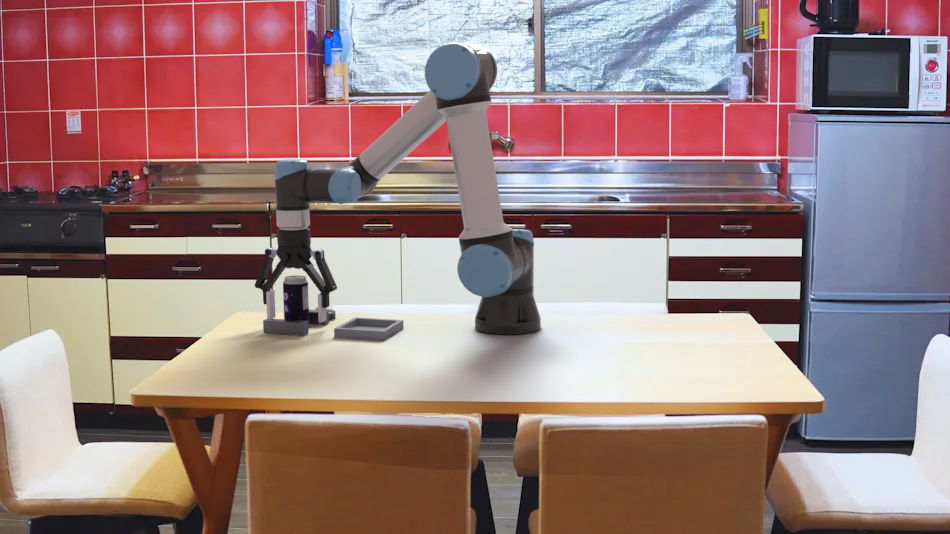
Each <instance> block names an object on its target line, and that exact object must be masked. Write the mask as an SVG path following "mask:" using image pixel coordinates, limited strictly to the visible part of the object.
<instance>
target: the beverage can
mask: <svg viewBox="0 0 950 534" xmlns="http://www.w3.org/2000/svg"><path fill="white" fill-rule="evenodd" d="M282 295H283V319H285V320H302V321H308V326H309V325H310V324H309V310H310V305H309V304H310V302H309V301H310V300H309V281H308V280H307V277H306V276H305V275H287V276H285V277H284V279H283V283H282Z"/></svg>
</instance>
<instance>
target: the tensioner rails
mask: <svg viewBox="0 0 950 534" xmlns="http://www.w3.org/2000/svg"><path fill="white" fill-rule="evenodd" d="M336 317H337V315H336V310H334V309H329V308H326V321H324V322H322V323H319V320H318V306H317V307H315V309H309V325H311V324H320V325H319V326H326V324H327V325H328V323H329V324H330V322H331V321H334V320H335V319H336ZM330 320H331V321H330ZM262 325H263V328H262V329H263V334H264V333H265V335H278V334H279V335H281V336H293V335H298V336H297V337H305V336H307V335H308V334H309V325H308V321H302V320H285V319H284V318H272V319H269V318H268V319H267V318H266V319H264V320H262ZM279 335H278V336H279Z"/></svg>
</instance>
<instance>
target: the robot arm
mask: <svg viewBox="0 0 950 534" xmlns="http://www.w3.org/2000/svg"><path fill="white" fill-rule="evenodd" d="M497 75H498V66H497V62H496V59H495V57H494V56H493V54H492V53H491V52H490V51H489V50H488V49H487V48H486V47H484V46H482V45H480V44H477V43H468V42H467V43H466V42H462V41H452V42H449V43H448V42H447V43H444V44H441V45H440V46H438V47H436V49H434V50H433V51H432V52H431V54H429V57H428V59H427V60H426V62H425V66H424V79H425V83H426V85H427V87H428V89H429V90H428V92H427V93H425V94H424V95H423V96H422V97H421V98H420V99H419V100H418V101H416V102H415V104H413V105H412V106H411V107H410V108H409V109H408V110H407V111H406V112H405V113H403V114H402V115H401V117H399V118H397V120H396V121H394V123H393V124H392V125H390V126H389V127H388V128H387V129H386V130H385V131H384V132H383V133H382V134H381V135H379V136H378V137H377V138H376V139H375V140H374V141H373V142H372V143H371V144H370V145H368V147H367V148H365V150H363V151H361V153H360V154H359V155H358V156H357V157H355V159H354V160H352V161H350V163H349V164H348V165H346V166H341V167H337V168H329V169H328V168H326V169H325V168H324V169H323V168H322V169H321V168H320V169H319V168H310V165H309V162H308V160H306V159H298V158H297V159H296V158H294V159H293V158H292V159H281V160H280V159H279V160H278V161H276V163H275V165H274V166H275V167H274V180H273V181H274V183H275V188H274V189H275V203H276V205H275V208H276V209H275V210H276V212H275V213H276V214H275V215H276V216H275V217H276V226H277V227H278V229H277V230H276V237H277V238H276V242H277V248H274V247H267V248H265V250H264V260H263V262H262V263H261V264H262V265H261V268H260V270H259V273H258V275H257V278H256V280H255V283H254V287H255V289H259V290H261V291H262V301H263V304H264V305H266V315H267V316H266V319H268V318H269V319H276V303H275V302H276V296H275V294H276V293H275V289H273V286H274V285H275V283H276V282H277V281H278V279H279V278H280V276H281V275H282V274H283V272H284V271H285V269H286V268H287V269H292V268H293V269H299V270H303V272H305V273H306V274H307V276H308V277H309V278H310V280H311V281H312V282H313V284H314V286H315V287H316V288H317V289H318V291H319V292H320V293H318V294H317V307H318V320H319V323H322V322H324V321H326V309H328V308H329V307H330V294H331V293H332V292H334V291H336V290H338V286H337V284H336V281H335V279H334V277H333V274H332V273H331V270H330V268H329V265H328V263H327V261H326V258H325V250H324V249H317V250H312V247H311V242H312V239H311V237H312V236H311V229H310V228H309V226H310V225H311V218H310V217H311V215H310V213H311V212H310V203H326V204H327V203H328V204H339V205H344V204H354V203H356V202H357V201H358V199H359V198H360V197H361V198H362V197H365V196H367V195H369V194H370V193H372V192H373V191H374V190H376V189H375V188H376V186H377V185H378V183H379V182H380V180H382V179H383V178H384V177H385V176H386V175H387V174H388V173H389V172H391V171H392V169H394V168H396V166H397V165H399V163H400V162H402V161H403V160H404V159H405V158H406V157H408V155H410V154H411V153H412V152H413V151H414V150H415V149H416V148H418V146H420V145H421V144H422V143H423V142H424V141H425V140H426V139H428V138H429V137H430V136H431V135H432V134H433V133H434V132H435V131H437V130H438V129H439V128H441V126H442V125H444V123H446V125H447V126H446V127H447V131H448V139H449V144H450V151H451V157H452V163H453V168H454V175H455V179H456V180H455V181H456V186H457V194H458V198H459V204H460V210H461V217H462V223H463V230H462V231H461V233H460V234H459V236H458V241H459V248H460V254H461V255H460V257H459V259H458V262H457V268H456V269H457V275H458V279H459V281H460V282H461V284H462V286H463V287H464V288H465V289H466V290H468V292H470V293H471V294H473V295H475V296H478V297H481V298H480V302H479V305H478V308H477V311H476V315H475V317H474V329H475V330H476V331H479V332H481V333H482V332H483V333H486V334H491V335H492V334H493V335H505V336H506V335H507V336H508V335H523V334H529V333H534V332H537V331H539V330H540V329H541V328H542V325H541V324H542V323H541V315H540V312H539V309H538V306H537V304H536V303H537V302H536V300H535V297H534V247H535V242H534V235H533V232H532V231H531V230H530V229H518V228H517V229H513V228H512V227H511V226H509V225H508V224H507V223H505V222H504V217H503V210H502V205H501V203H502V202H501V199H500V191H499V187H498V179H497V173H496V167H495V162H494V156H493V150H492V142H491V136H490V130H489V125H488V124H489V123H488V118H487V117H488V116H487V109H488V108H489V106H490V105H491V104H492V98H491V91H490V90H491V89H492V87H493V86H494V84H495V82H496V79H497ZM276 256H277V257H278V259H279V261H278V262H277V265H276V266H275V268H274V270H273V271H272V272H271V274H270V275H269V273H270V270H271V268H272V265H273V262H274V259H275V258H276ZM311 258H313V260H315V263H316V266H317V268H318V270H319V271H318V270H316V268H315V267H314V266H315V265H314V264H313V262H312V261H311ZM268 276H269V277H268Z"/></svg>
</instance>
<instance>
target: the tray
mask: <svg viewBox="0 0 950 534" xmlns="http://www.w3.org/2000/svg"><path fill="white" fill-rule="evenodd" d="M402 330H404V319H391V318H389V319H388V318H374V317H357V316H356V317H353V318H351V319H350V320H347V321H345V322H344V323H342V324H340V325H338V326H336V327H333V337H334V338H342V339H359V340H372V341H374V340H375V341H386V340H387V339H389V338H392V336H394V335H396V334H397V333H399V332H400V331H402Z"/></svg>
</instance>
